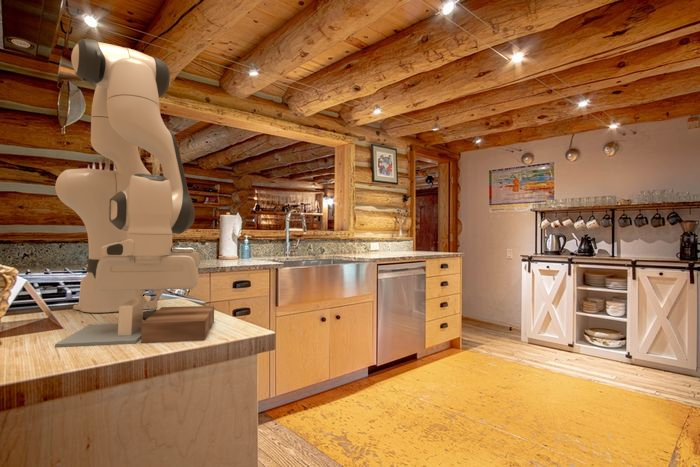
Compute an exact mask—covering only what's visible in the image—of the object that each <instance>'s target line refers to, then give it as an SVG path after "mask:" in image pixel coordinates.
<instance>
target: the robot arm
mask: <svg viewBox="0 0 700 467" xmlns="http://www.w3.org/2000/svg"><path fill="white" fill-rule="evenodd" d="M70 58H71V66H72V67H73V70H74V74H75V75H76V76H77V77H78V79H79V80H80V81H83V82H85V83H87V84H89V85H92V86H95V85H96V87H95V90H94V94H93V98H92V104H91V115H90V116H91V117H90V119H91V120H90V122H91V123H90V143H91V147H92V149H93V150H94V151H95V152H96V153H98V154H100V155H101V156H103V157H104V158H106V159H108V160H110V161H112V162H113V163H114V165H115V167H116V170H108V169H106V170H105V169H98V168H97V169H96V168H85V167H84V168H69V169H65V170H63V171H62V172H61V173H60V174H58V177H57V179H56V181H55V185H54V187H55V193H56V196H57V198H58V199H59V200H60V202H62V203H63V205H65V206H67V207H69V208H70V209H71V210H73V211H74V212H75V214H77V216H79V218H80V219H81V220H82V222H83V224H84V226H85V229H86V234H87V239H88V240H87V242H88V258H87V259H86V264H85V267H86V272H87V274H86V275H85V276H84V277H82V279H81V280H80V288H79V296H78V304H74V305H73V307H72V310H76V311H77V310H78V311H81V312H84V313H95V314H96V313H115V312H119V307H120V306H121V305H123V304H125V303H127V302H129V301H130V300H139V301H140V303H141V310H143V311H151V310H158V301H159V300H160V298H161V297H162V295H163V294H164V290H193V289H195V288H197V286H199V284H200V276H199V274H200V273H199V266H200V264H201V254H200V252H199V251H198V250H196V249H194V248H193V247H174V246H173V234H175V235H181V234H183V233H185V232H186V231H187V230H188V229H190V227H191V226H192V225H193V224H194V223H195V218H196V214H195V212H196V211H195V206H194V203H193V201H192V200H193V199H192V198H191V195H190V193H189V189H188V185H187V180H186V179H187V178H186V176H185V175H186V174H185V171H184V170H185V169H184V166H183V162H182V157H181V153H180V149H179V144H178V142H177V138H176V136H175V134H174V133H173V132H171V131H170V130H169V129H168V128H167V126H166V125H165V122H164V120H163V118H162V116H161V112H160V98H162V97H163V96H164V95H166V94H167V92H168V90H169V87H170V84H171V74H170V68H169V66H168V64H167V63H166V62H165V61H164V60H161V59H160V58H158V57H156V56H153V55H152V56H150V55H148V54H145V53H143V52H142V51H138V50H135V49H133V48H132V49H131V48H129V47H123V46H119V45H115V44H110V43H105V42H100V41H98V40H96V39H93V38H92V39H90V38H82V39H80V40H78V41H77V42H76V43H75V45H74V47H73V49H72V51H71V57H70ZM139 148H141V149H143V150H144V151H146V152H148V153H149V154H151V155H153V157H155V158H156V160H158V162H159V163H160V166H161V169H162V175H158V174H157V175H155V174H152V173H151V172H149V170H148V169H147V168H146V167H145V164H144V163H143V161H142V159H141V156H140V152H139ZM151 290H153V295H155V297H154V299H153V300H151V299H152V297H151V295H144V294H145V293H146V291H151ZM143 295H144V296H143Z"/></svg>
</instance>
